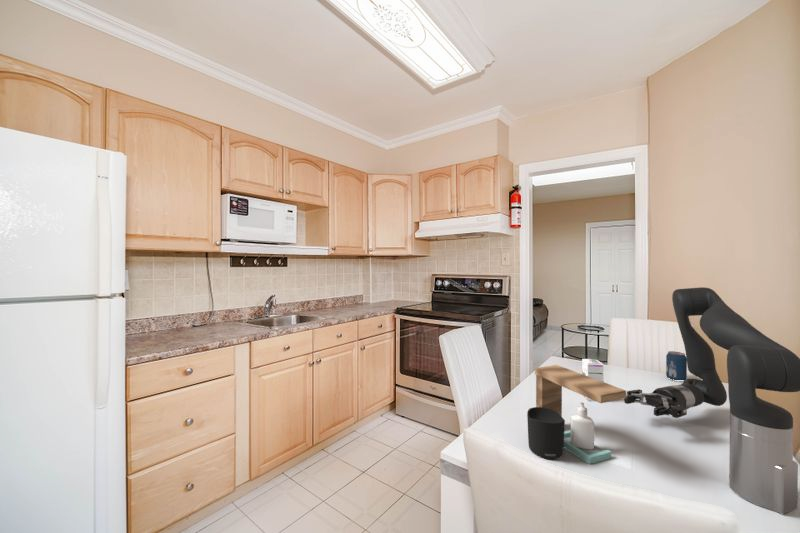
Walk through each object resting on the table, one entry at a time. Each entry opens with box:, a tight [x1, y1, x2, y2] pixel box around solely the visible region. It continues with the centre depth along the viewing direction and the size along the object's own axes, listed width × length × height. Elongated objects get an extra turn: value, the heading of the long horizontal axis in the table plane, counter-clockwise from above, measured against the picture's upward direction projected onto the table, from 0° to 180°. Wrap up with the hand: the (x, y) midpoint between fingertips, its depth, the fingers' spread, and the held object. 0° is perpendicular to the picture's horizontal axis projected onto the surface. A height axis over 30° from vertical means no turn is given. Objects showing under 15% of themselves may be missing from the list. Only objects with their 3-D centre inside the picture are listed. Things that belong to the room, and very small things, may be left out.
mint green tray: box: [563, 429, 613, 465], centre depth 88 cm, size 12×8×2 cm, turn 20°
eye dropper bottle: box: [570, 402, 595, 449], centre depth 88 cm, size 4×6×12 cm
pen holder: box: [526, 406, 566, 461], centre depth 87 cm, size 9×9×10 cm
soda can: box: [665, 350, 688, 381], centre depth 141 cm, size 7×7×12 cm
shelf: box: [534, 364, 627, 418], centre depth 90 cm, size 22×9×19 cm, turn 20°
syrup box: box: [581, 358, 605, 402], centre depth 121 cm, size 6×6×14 cm
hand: (639, 406), depth 96 cm, fingers open, 8 cm apart
